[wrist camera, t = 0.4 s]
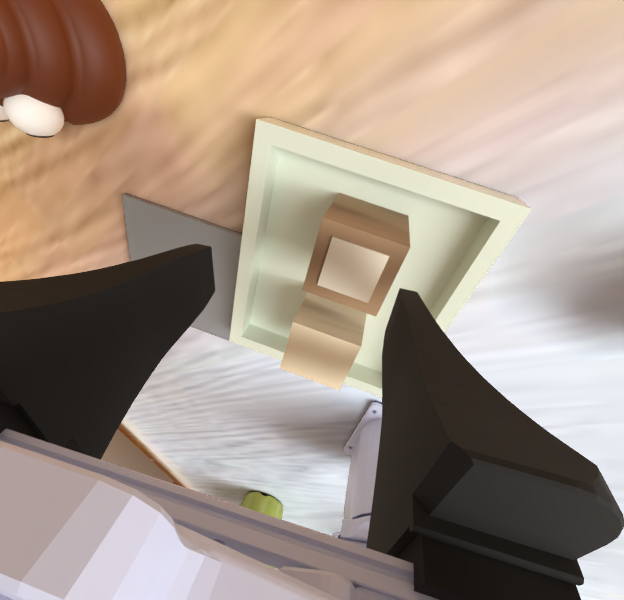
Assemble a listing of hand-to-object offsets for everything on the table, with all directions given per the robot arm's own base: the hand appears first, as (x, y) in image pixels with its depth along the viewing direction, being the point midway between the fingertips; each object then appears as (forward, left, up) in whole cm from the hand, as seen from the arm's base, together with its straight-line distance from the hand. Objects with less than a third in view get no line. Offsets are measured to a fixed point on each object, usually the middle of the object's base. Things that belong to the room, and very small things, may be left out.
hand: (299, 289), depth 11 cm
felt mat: (-10, +11, -10) cm, 18 cm away
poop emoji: (+4, +20, -11) cm, 23 cm away
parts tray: (-5, -2, -10) cm, 11 cm away
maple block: (-8, -2, -10) cm, 13 cm away
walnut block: (-1, -2, -10) cm, 10 cm away
